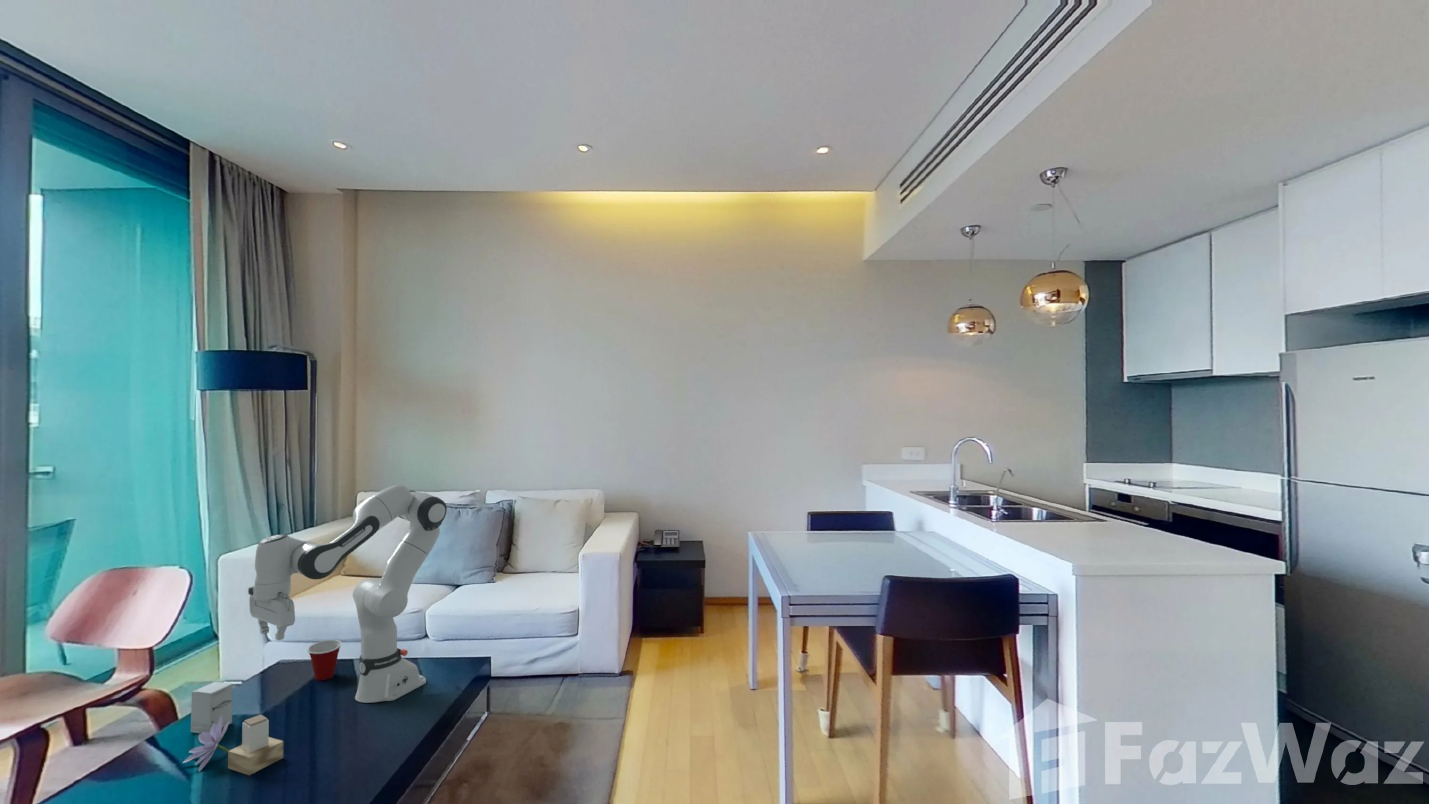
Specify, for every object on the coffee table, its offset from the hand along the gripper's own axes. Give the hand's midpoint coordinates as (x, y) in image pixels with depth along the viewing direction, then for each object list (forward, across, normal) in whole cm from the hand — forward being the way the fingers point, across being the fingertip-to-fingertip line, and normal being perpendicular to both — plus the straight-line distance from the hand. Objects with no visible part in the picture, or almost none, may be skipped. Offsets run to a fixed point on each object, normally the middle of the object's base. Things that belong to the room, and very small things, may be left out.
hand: (272, 636), depth 183 cm
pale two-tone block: (+26, -10, +8) cm, 29 cm away
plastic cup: (+31, +32, -31) cm, 55 cm away
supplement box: (+31, +24, +6) cm, 40 cm away
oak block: (+32, -10, +8) cm, 34 cm away
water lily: (+32, +4, +14) cm, 35 cm away
